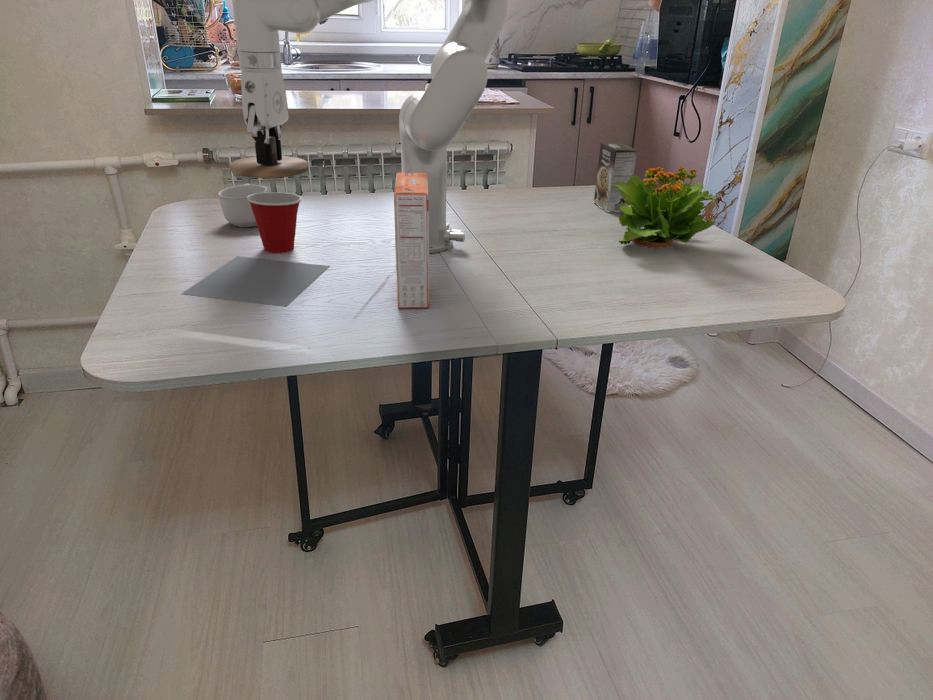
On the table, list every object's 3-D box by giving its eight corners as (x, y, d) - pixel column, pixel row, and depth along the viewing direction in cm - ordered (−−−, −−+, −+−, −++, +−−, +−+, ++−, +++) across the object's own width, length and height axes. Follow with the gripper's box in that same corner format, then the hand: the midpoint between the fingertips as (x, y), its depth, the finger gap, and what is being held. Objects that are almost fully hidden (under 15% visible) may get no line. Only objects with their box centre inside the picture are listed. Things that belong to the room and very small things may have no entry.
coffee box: (592, 203, 183) (599, 142, 175) (614, 202, 184) (622, 141, 177) (606, 212, 175) (614, 149, 168) (628, 211, 177) (638, 149, 169)
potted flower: (583, 226, 164) (592, 153, 156) (670, 222, 170) (683, 151, 162) (630, 262, 143) (642, 180, 135) (727, 256, 149) (745, 176, 140)
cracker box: (397, 279, 131) (395, 171, 121) (428, 279, 131) (429, 171, 121) (395, 309, 118) (392, 191, 109) (429, 309, 119) (430, 192, 109)
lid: (319, 163, 140) (318, 134, 137) (289, 180, 126) (286, 148, 124) (252, 158, 142) (249, 128, 139) (215, 174, 129) (211, 142, 126)
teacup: (263, 231, 154) (259, 196, 150) (216, 229, 154) (210, 195, 150) (279, 213, 166) (276, 181, 162) (235, 212, 166) (231, 179, 162)
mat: (330, 269, 134) (330, 266, 134) (286, 310, 117) (286, 306, 116) (237, 259, 137) (237, 256, 137) (182, 297, 120) (181, 293, 120)
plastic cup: (316, 248, 145) (312, 193, 139) (284, 264, 136) (278, 205, 130) (276, 240, 149) (270, 185, 143) (242, 254, 140) (234, 197, 134)
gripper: (258, 66, 117) (268, 172, 126) (297, 59, 131) (304, 155, 140) (218, 64, 118) (231, 169, 127) (261, 57, 133) (270, 152, 141)
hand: (269, 160), depth 133 cm, fingers closed on lid, 3 cm apart
